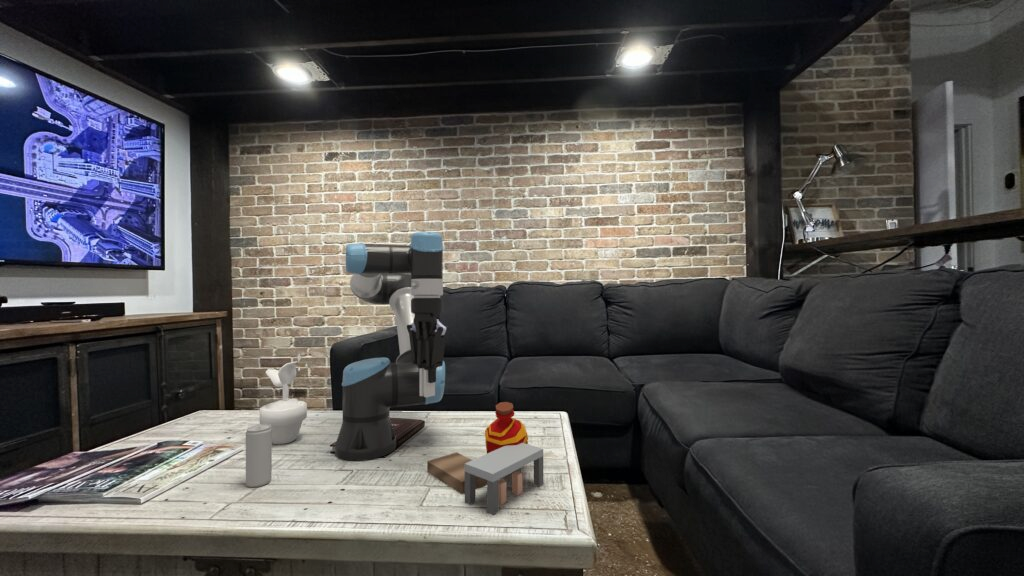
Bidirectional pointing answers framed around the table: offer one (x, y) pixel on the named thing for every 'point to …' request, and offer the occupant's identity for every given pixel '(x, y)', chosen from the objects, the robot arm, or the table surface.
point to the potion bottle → (504, 429)
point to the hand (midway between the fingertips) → (427, 395)
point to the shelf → (502, 472)
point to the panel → (452, 471)
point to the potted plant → (284, 406)
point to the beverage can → (258, 455)
